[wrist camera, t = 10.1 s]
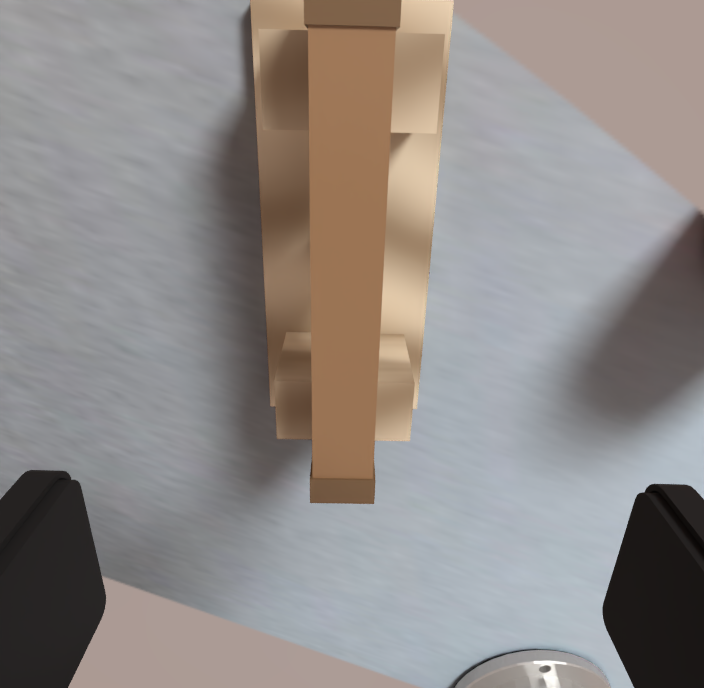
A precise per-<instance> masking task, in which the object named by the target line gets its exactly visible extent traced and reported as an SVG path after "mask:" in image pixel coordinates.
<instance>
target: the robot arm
mask: <svg viewBox="0 0 704 688" xmlns="http://www.w3.org/2000/svg"><path fill="white" fill-rule="evenodd" d="M105 604H106V594H105V589H104V585H103V580H102V576H101V572H100V567H99V563H98V559H97V554H96V550H95V546H94V541H93V537H92V533H91V528H90V524H89V520H88V515H87V511H86V507H85V502H84V498H83V494H82V489H81V486H80V483H79V482H78V481H76V480H71V477H70V475H69V474H68V473H67V472H65V471H45V470H30V471H27V472H25V473H24V474H23V475H22V476H21V477H20V478H19V479H18V480H17V481H16V483H15V484H14V485H13V486H12V487H11V488H10V489H9V490H8V492H7V493H6V494H5V495H4V496H3V497H2V498H1V500H0V688H68V686H69V684H70V682H71V680H72V678H73V676H74V674H75V672H76V670H77V668H78V666H79V664H80V662H81V660H82V658H83V656H84V653H85V651H86V649H87V647H88V645H89V643H90V641H91V639H92V637H93V635H94V633H95V631H96V629H97V627H98V625H99V623H100V620H101V618H102V616H103V613H104V609H105ZM603 619H604V623H605V626H606V629H607V631H608V633H609V635H610V637H611V640H612V642H613V644H614V646H615V648H616V650H617V652H618V654H619V656H620V659H621V661H622V663H623V665H624V667H625V669H626V671H627V673H628V675H629V678H630V680H631V682H632V684H633V686H634V688H704V499H703V498H702V497H701V496H700V495H699V494H698V493H697V491H696V490H694V489H693V488H692V487H691V486H688V485H677V484H652V485H649V486H648V487H647V488H646V490H645V493H639V494H638V495H637V497H636V499H635V502H634V505H633V508H632V511H631V515H630V518H629V521H628V525H627V528H626V531H625V534H624V538H623V541H622V544H621V547H620V551H619V554H618V557H617V560H616V564H615V567H614V570H613V574H612V577H611V580H610V583H609V587H608V590H607V593H606V596H605V600H604V603H603ZM455 688H611V687H610V684H609V682H608V679H607V678H606V676H605V675H604V673H603V672H602V671H601V670H600V669H599V668H598V667H597V666H596V665H594V664H593V663H591V662H589V661H588V660H586V659H584V658H582V657H579V656H576V655H573V654H570V653H565V652H560V651H554V650H530V651H520V652H515V653H511V654H506V655H503V656H500V657H497V658H494V659H491V660H489V661H487V662H485V663H483V664H481V665H479V666H477V667H476V668H474V669H473V670H472V671H470V672H469V673H467V674H466V675H465V676H464V677H463V678H462V679H461V680H460V681H459V682H458V683H457V685H456V686H455Z"/></svg>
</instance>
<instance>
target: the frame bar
mask: <svg viewBox="0 0 704 688" xmlns="http://www.w3.org/2000/svg"><path fill="white" fill-rule="evenodd" d="M401 2H402V0H304V25H305V26H306V27H307V29H308V79H309V178H310V277H311V375H312V463H311V473H310V503H353V504H374V496H375V468H374V445H375V425H376V406H377V387H378V368H379V348H380V329H381V310H382V291H383V271H384V252H385V233H386V213H387V194H388V175H389V156H390V136H391V117H392V98H393V79H394V59H395V40H396V31H397V30H398V29H399V28H400V21H401Z"/></svg>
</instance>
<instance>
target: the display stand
mask: <svg viewBox="0 0 704 688" xmlns="http://www.w3.org/2000/svg"><path fill="white" fill-rule="evenodd" d="M453 3H454V1H449V0H402V2H401V21H400V28H399V29H398V30H397V31H396V40H395V59H394V79H393V98H392V117H391V136H390V156H389V175H388V194H387V213H386V233H385V252H384V271H383V291H382V310H381V329H380V348H379V368H378V387H377V406H376V425H375V441H410V433H411V422H412V410H413V409H417V401H418V390H419V379H420V368H421V357H422V346H423V335H424V324H425V313H426V302H427V291H428V280H429V269H430V258H431V247H432V236H433V225H434V214H435V203H436V192H437V181H438V170H439V159H440V148H441V137H442V126H443V114H444V103H445V92H446V81H447V70H448V59H449V48H450V37H451V26H452V15H453ZM250 7H251V27H252V47H253V67H254V87H255V107H256V127H257V147H258V167H259V187H260V207H261V227H262V247H263V267H264V287H265V307H266V327H267V347H268V368H269V388H270V406H273V407H275V409H276V431H277V439H312V375H311V277H310V178H309V79H308V29H307V27H306V26H305V25H304V0H250Z"/></svg>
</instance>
